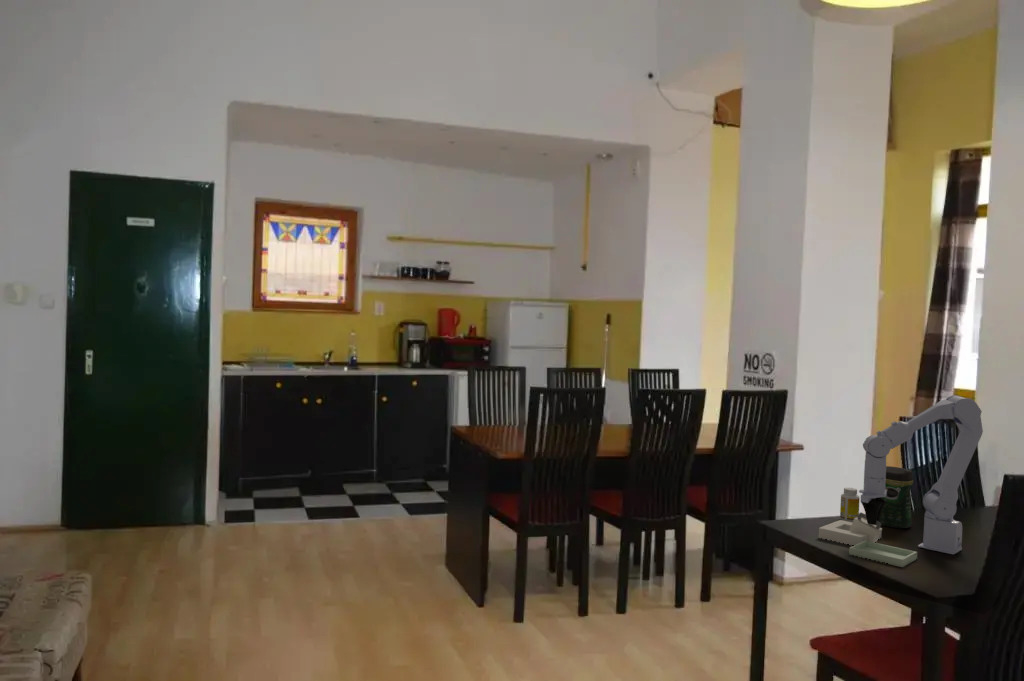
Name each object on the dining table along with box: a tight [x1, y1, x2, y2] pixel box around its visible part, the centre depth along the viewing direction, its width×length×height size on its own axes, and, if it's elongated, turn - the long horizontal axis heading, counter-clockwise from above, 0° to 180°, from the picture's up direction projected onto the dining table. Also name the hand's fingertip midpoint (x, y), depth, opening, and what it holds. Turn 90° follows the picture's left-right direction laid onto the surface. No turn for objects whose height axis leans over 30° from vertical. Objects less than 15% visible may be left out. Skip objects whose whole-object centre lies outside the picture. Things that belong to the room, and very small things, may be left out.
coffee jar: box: [878, 465, 914, 529], centre depth 256 cm, size 10×8×19 cm
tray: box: [848, 541, 918, 568], centre depth 220 cm, size 14×11×2 cm
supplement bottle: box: [839, 487, 861, 522], centre depth 260 cm, size 6×6×10 cm
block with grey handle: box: [849, 512, 883, 543], centre depth 235 cm, size 7×4×6 cm, turn 45°
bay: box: [818, 519, 883, 546], centre depth 238 cm, size 12×15×3 cm
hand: (872, 523), depth 234 cm, fingers closed on block with grey handle
